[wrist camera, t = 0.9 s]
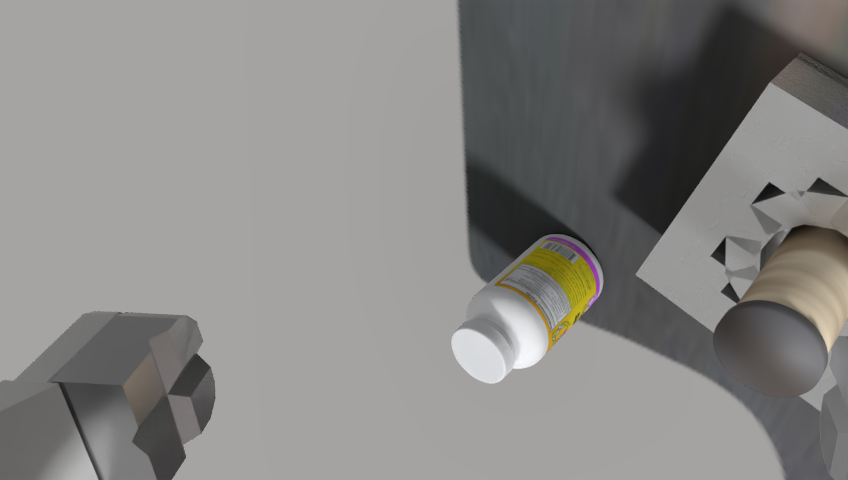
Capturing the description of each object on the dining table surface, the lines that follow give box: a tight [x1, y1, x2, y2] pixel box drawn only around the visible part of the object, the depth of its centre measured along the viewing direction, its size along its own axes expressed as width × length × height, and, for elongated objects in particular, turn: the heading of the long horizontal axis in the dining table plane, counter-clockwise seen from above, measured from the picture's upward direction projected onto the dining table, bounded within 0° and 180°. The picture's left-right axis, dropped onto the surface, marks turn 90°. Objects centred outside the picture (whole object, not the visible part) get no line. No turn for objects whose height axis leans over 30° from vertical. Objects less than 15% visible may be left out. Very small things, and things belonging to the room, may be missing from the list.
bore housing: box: [636, 52, 848, 412], centre depth 44 cm, size 16×16×5 cm
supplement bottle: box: [451, 234, 603, 383], centre depth 57 cm, size 7×7×13 cm
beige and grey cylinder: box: [713, 224, 848, 397], centre depth 41 cm, size 5×5×12 cm
